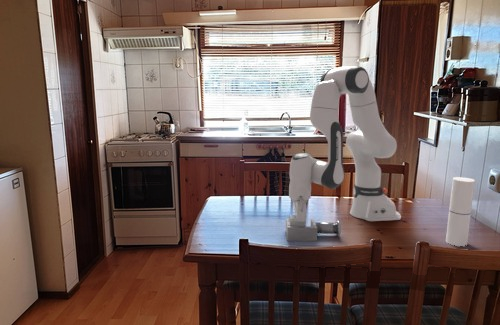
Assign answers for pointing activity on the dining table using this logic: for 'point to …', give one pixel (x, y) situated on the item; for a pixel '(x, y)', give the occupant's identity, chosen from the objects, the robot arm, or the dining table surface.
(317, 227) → the grey compartment organizer
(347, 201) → the dining table surface
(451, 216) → the cylindrical container
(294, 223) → the skincare box
